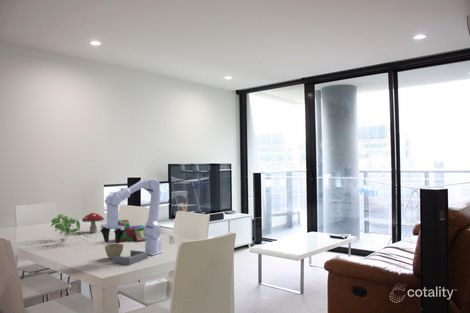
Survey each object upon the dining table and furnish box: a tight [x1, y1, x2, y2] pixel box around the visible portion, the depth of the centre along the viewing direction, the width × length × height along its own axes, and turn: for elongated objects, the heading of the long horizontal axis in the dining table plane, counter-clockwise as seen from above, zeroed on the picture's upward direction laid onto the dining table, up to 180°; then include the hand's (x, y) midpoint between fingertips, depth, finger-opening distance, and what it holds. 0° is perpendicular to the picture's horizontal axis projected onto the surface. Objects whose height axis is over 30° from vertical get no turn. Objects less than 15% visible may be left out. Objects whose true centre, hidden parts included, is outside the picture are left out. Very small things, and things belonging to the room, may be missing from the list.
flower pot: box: [104, 243, 124, 260], centre depth 206 cm, size 10×10×7 cm
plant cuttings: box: [50, 213, 92, 243], centre depth 251 cm, size 35×17×22 cm
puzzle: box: [114, 219, 146, 243], centre depth 259 cm, size 25×17×14 cm
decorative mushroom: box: [81, 212, 105, 233], centre depth 286 cm, size 16×16×15 cm
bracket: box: [112, 249, 148, 266], centre depth 202 cm, size 15×11×4 cm
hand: (112, 242), depth 199 cm, fingers open, 7 cm apart
